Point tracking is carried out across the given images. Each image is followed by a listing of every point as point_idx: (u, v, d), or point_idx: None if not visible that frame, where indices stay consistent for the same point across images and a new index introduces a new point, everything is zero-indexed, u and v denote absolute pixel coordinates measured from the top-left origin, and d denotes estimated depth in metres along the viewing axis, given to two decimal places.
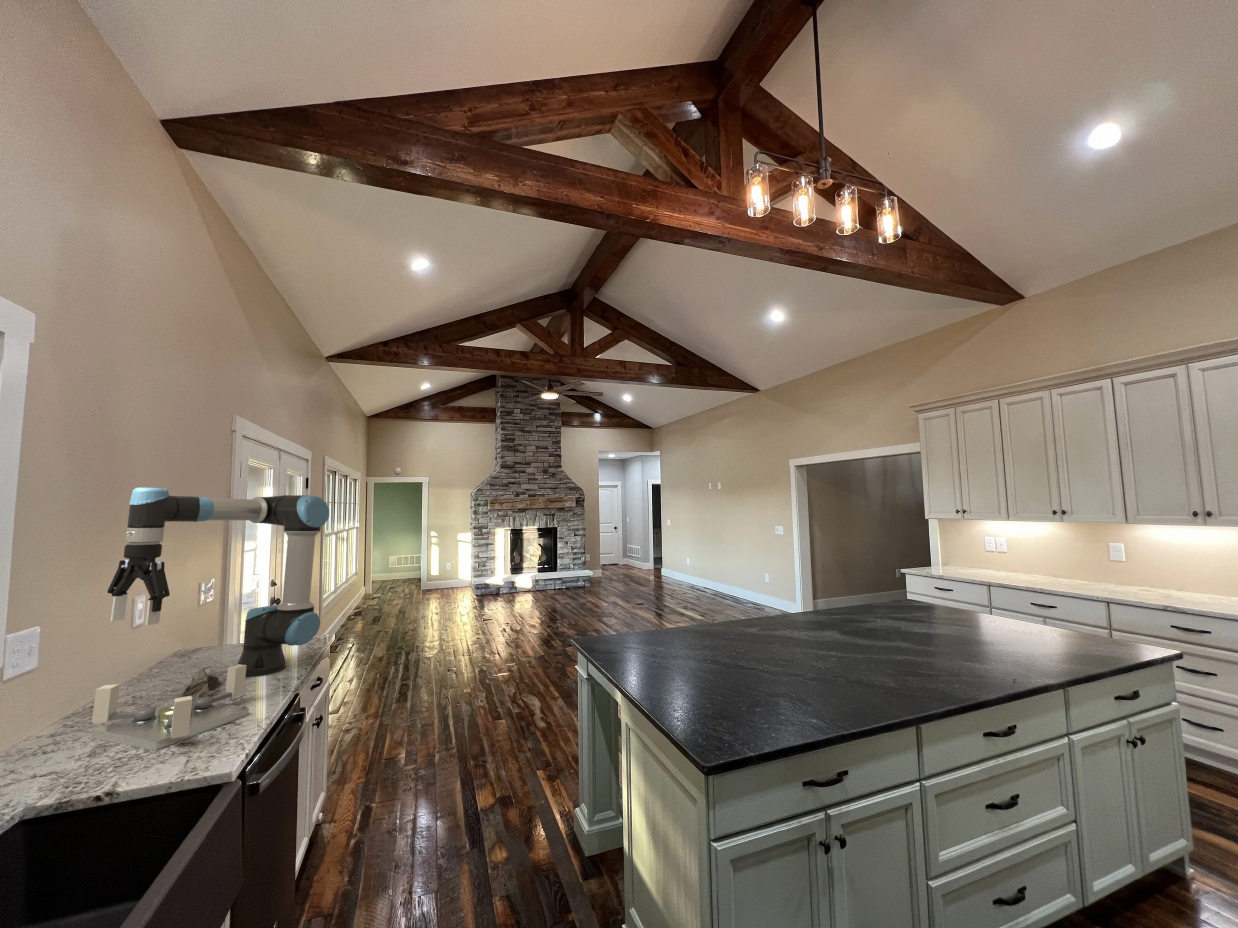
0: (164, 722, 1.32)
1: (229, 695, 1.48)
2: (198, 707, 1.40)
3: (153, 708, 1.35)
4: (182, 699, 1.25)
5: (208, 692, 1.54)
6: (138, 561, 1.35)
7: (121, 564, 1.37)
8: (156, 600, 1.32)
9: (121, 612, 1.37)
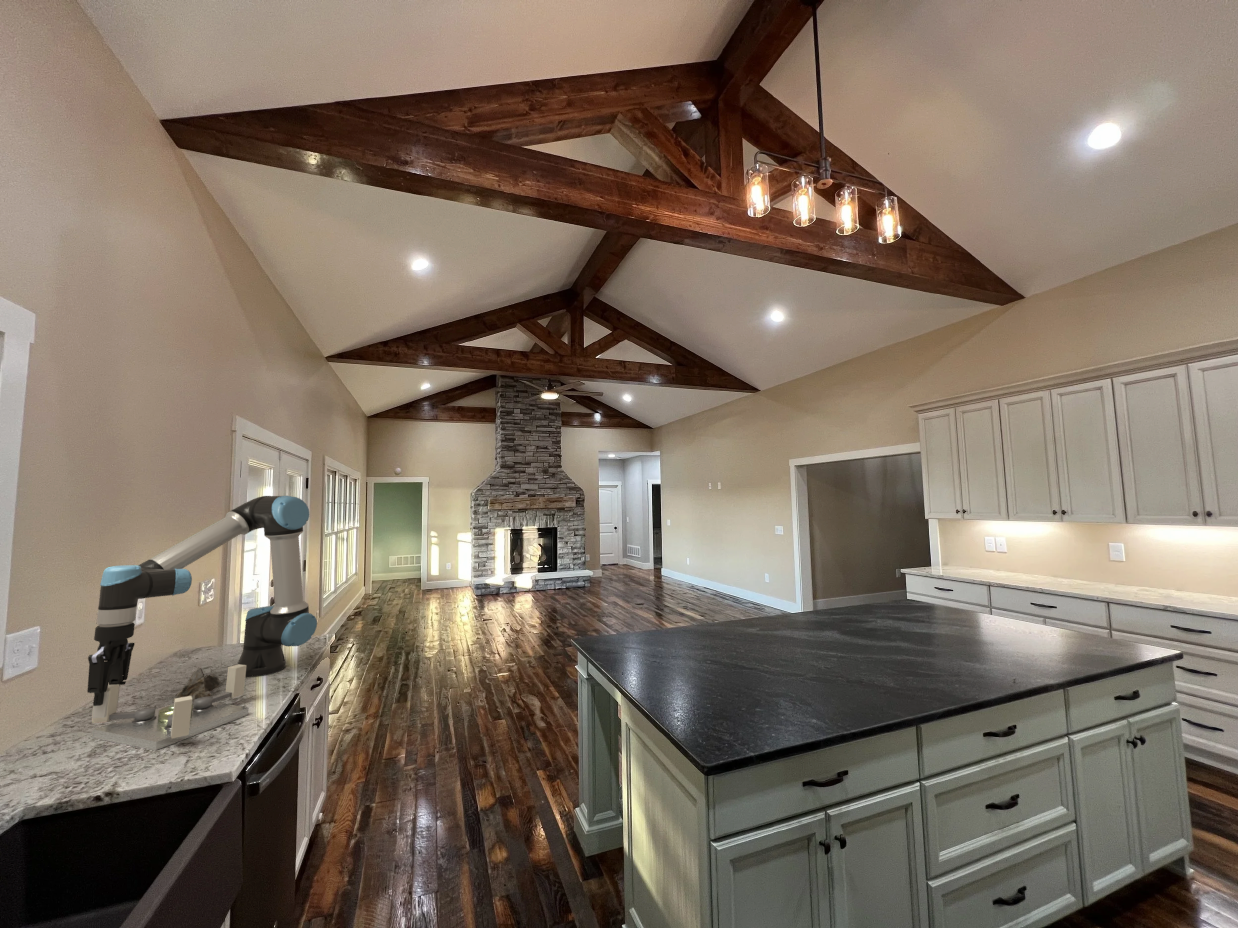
0: (164, 722, 1.32)
1: (229, 695, 1.48)
2: (198, 707, 1.40)
3: (153, 708, 1.35)
4: (182, 699, 1.25)
5: (204, 693, 1.54)
6: None
7: None
8: (95, 694, 1.29)
9: None
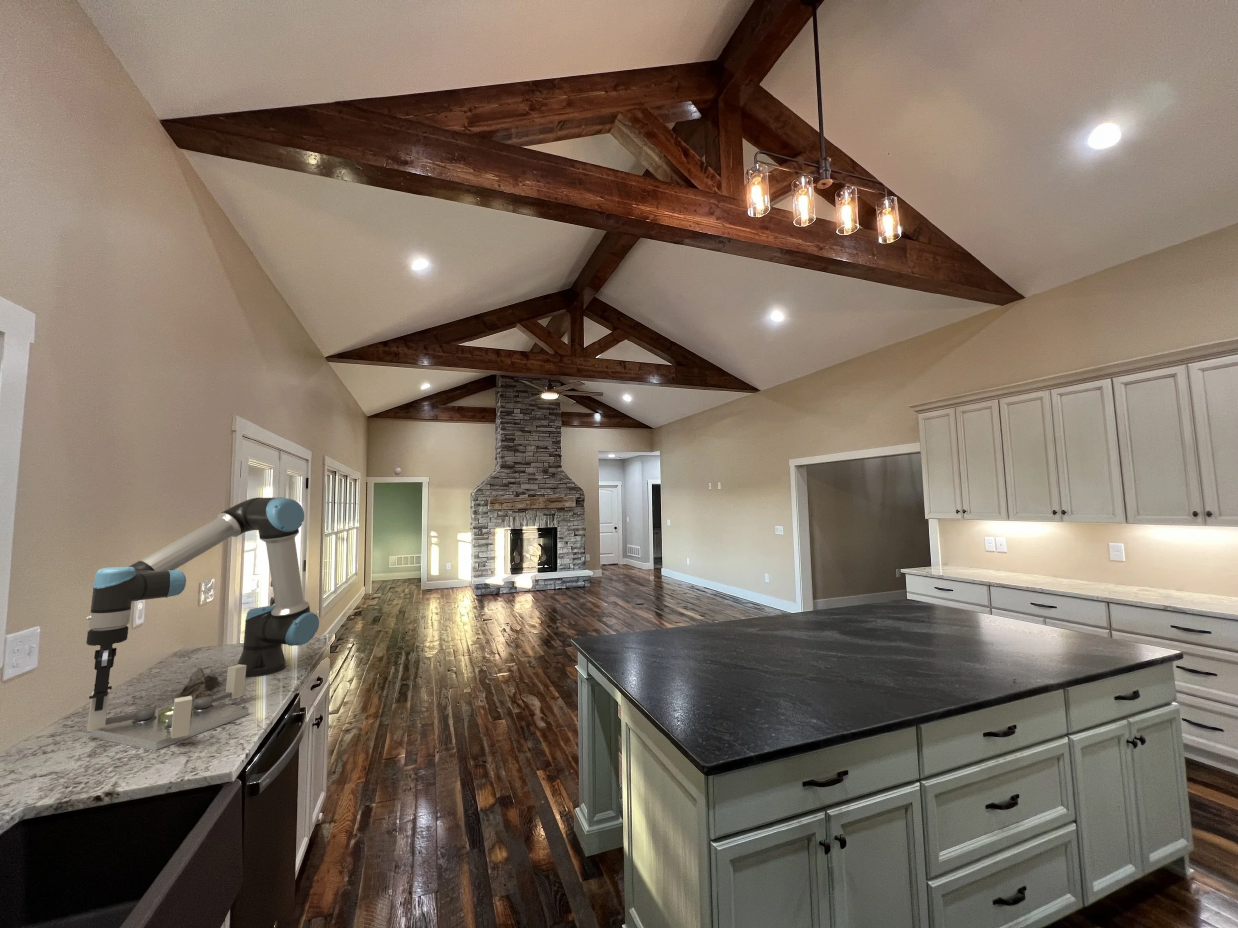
0: (164, 722, 1.32)
1: (229, 695, 1.48)
2: (198, 707, 1.40)
3: (152, 707, 1.35)
4: (182, 699, 1.25)
5: (205, 692, 1.54)
6: None
7: None
8: (96, 699, 1.25)
9: None
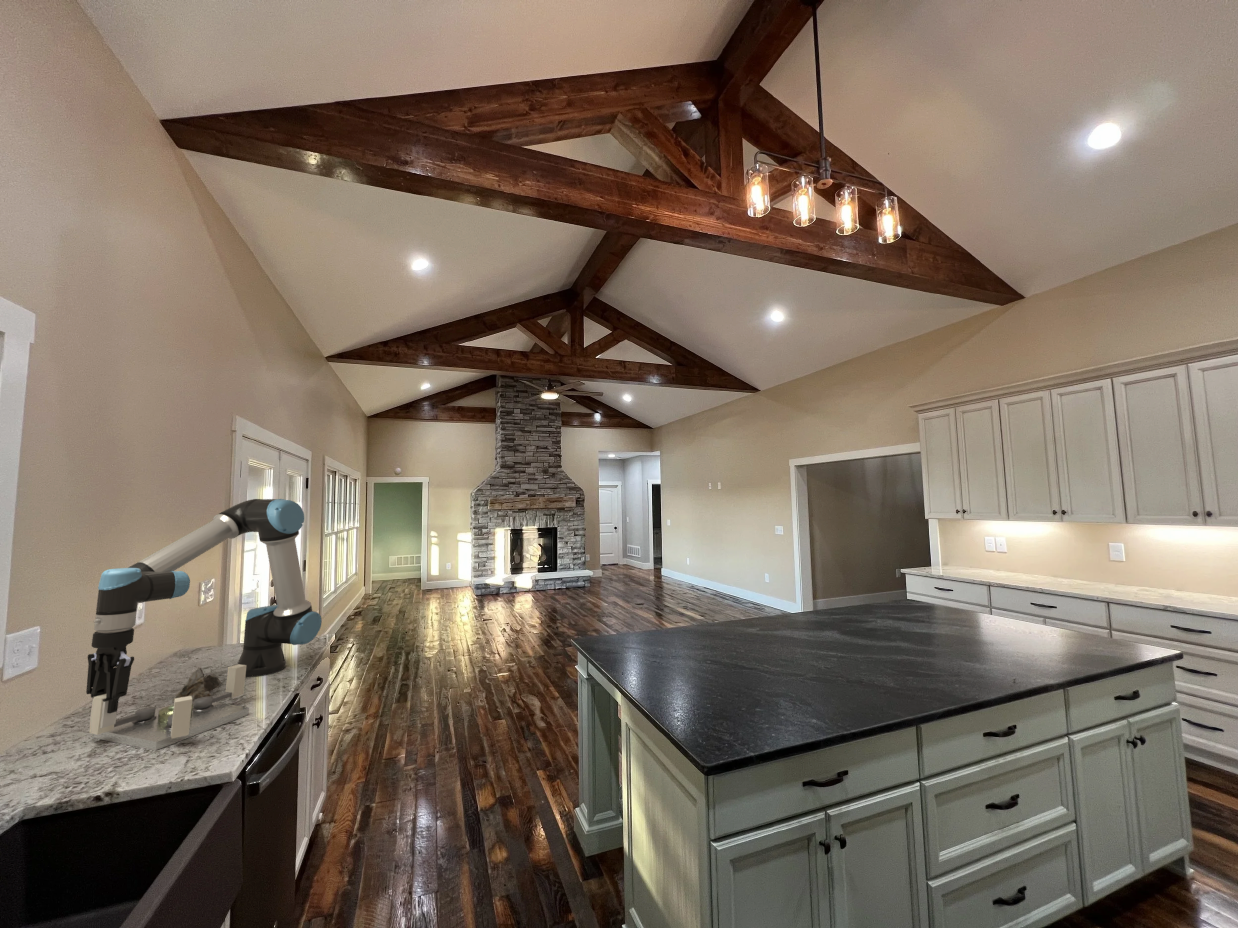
0: (164, 722, 1.32)
1: (229, 695, 1.48)
2: (198, 707, 1.40)
3: (149, 707, 1.35)
4: (182, 699, 1.25)
5: (204, 693, 1.54)
6: (107, 650, 1.26)
7: (90, 658, 1.27)
8: (112, 700, 1.24)
9: None
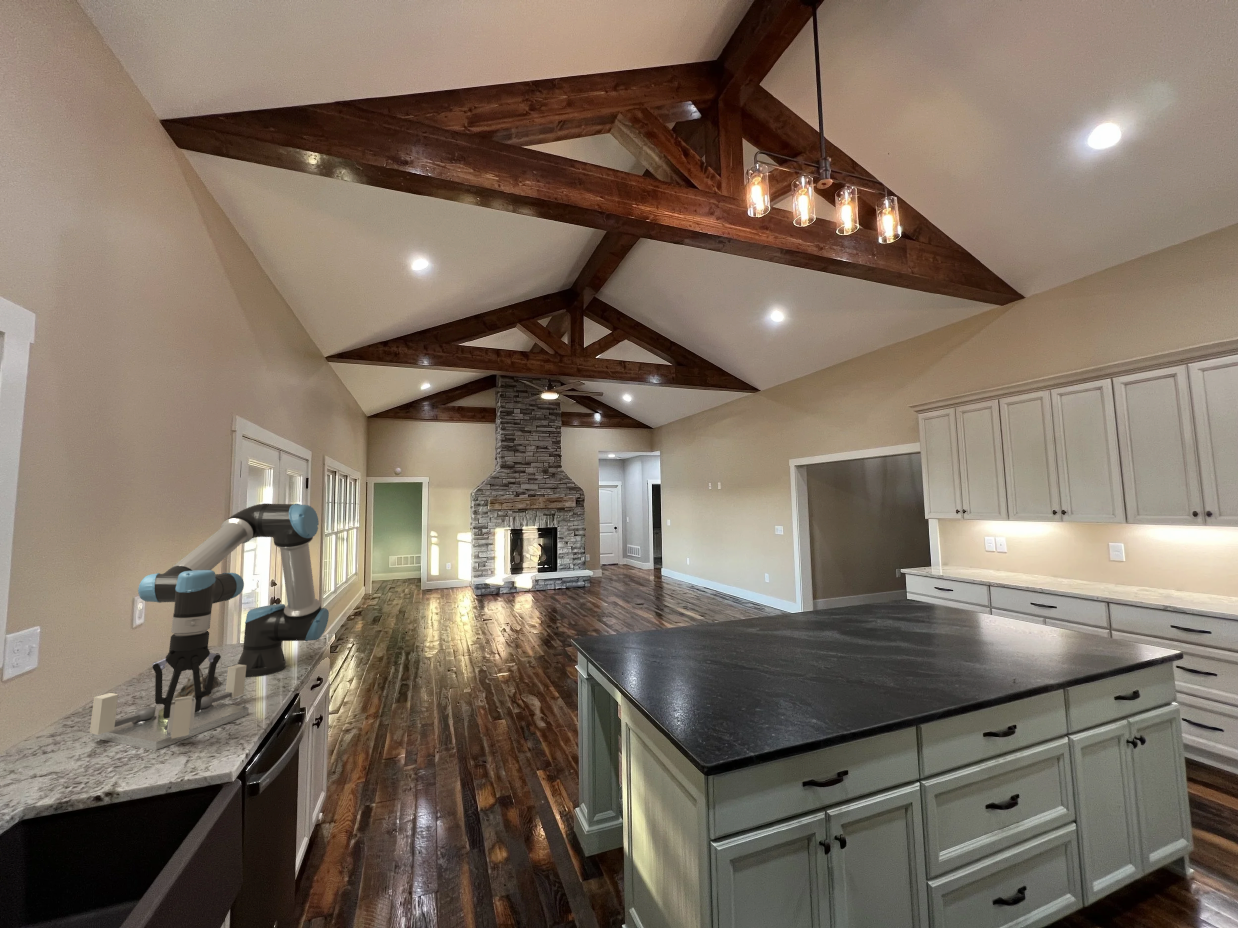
0: (164, 722, 1.32)
1: (229, 695, 1.48)
2: None
3: (149, 707, 1.35)
4: (182, 699, 1.25)
5: None
6: (191, 652, 1.26)
7: (158, 667, 1.21)
8: None
9: None
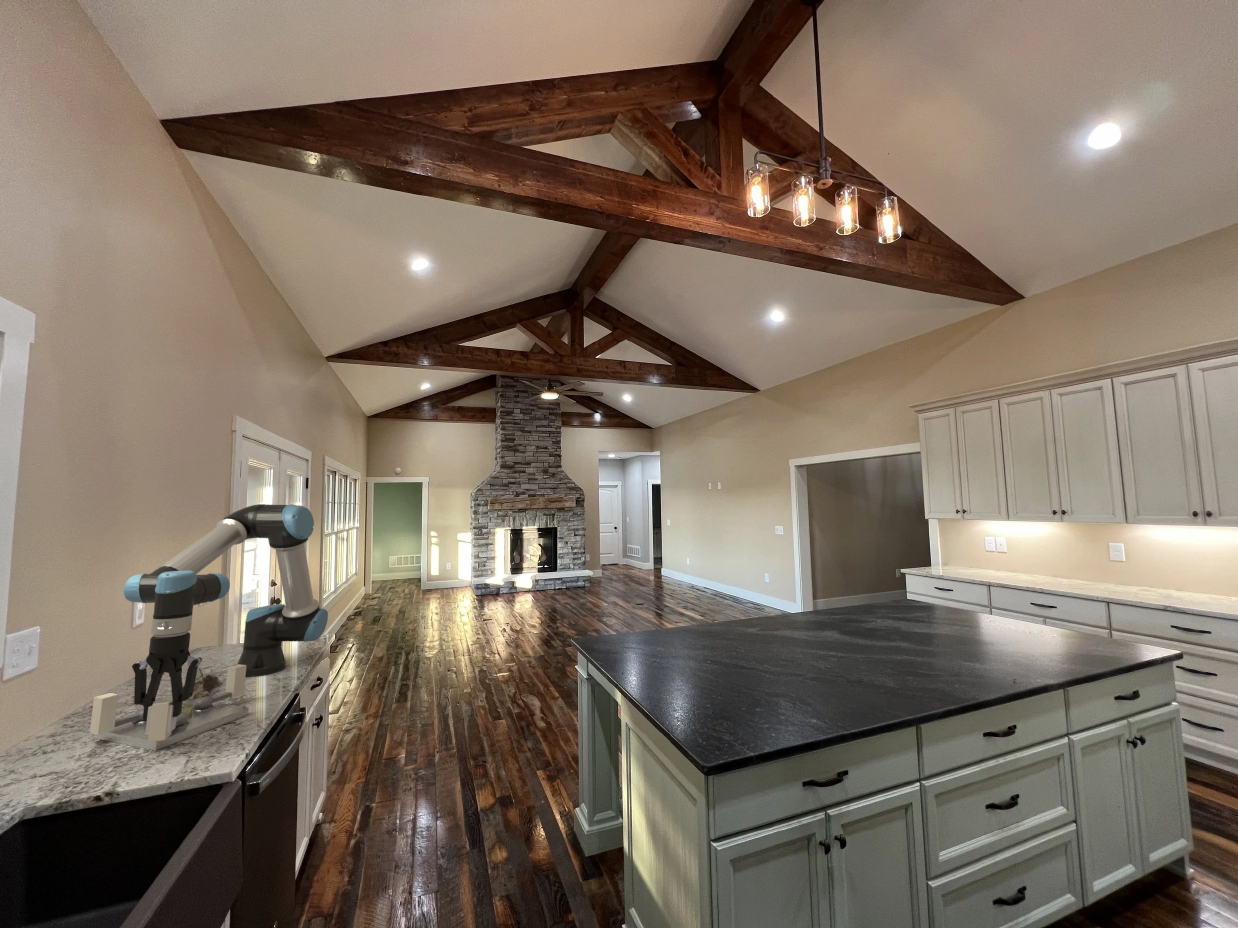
0: None
1: (229, 695, 1.48)
2: (198, 707, 1.40)
3: None
4: (162, 701, 1.23)
5: (202, 693, 1.54)
6: (169, 654, 1.23)
7: (137, 667, 1.21)
8: (179, 703, 1.23)
9: None
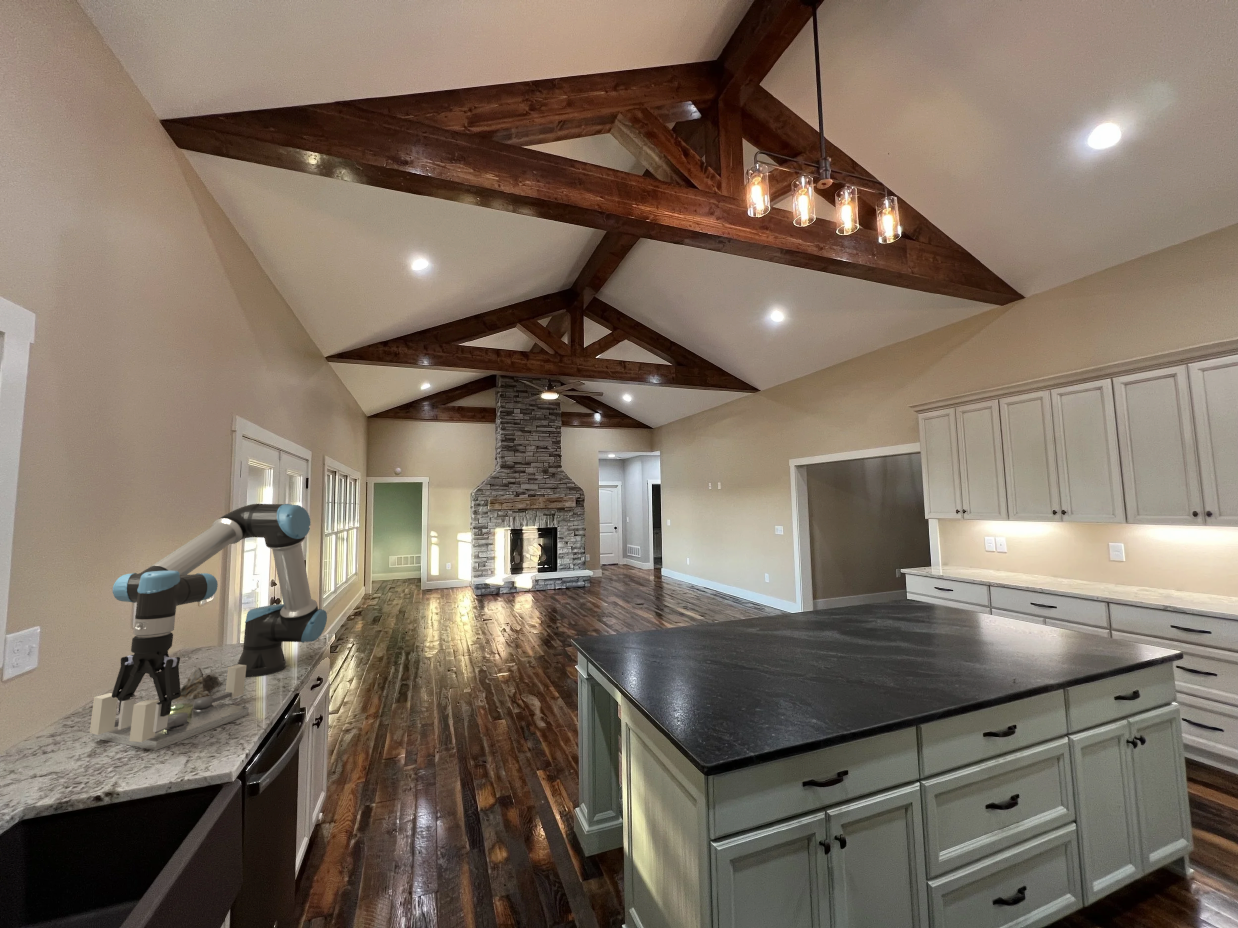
0: None
1: (229, 695, 1.48)
2: (198, 707, 1.40)
3: None
4: (144, 702, 1.22)
5: (203, 692, 1.54)
6: (148, 655, 1.22)
7: (124, 661, 1.23)
8: (166, 703, 1.21)
9: (129, 717, 1.23)
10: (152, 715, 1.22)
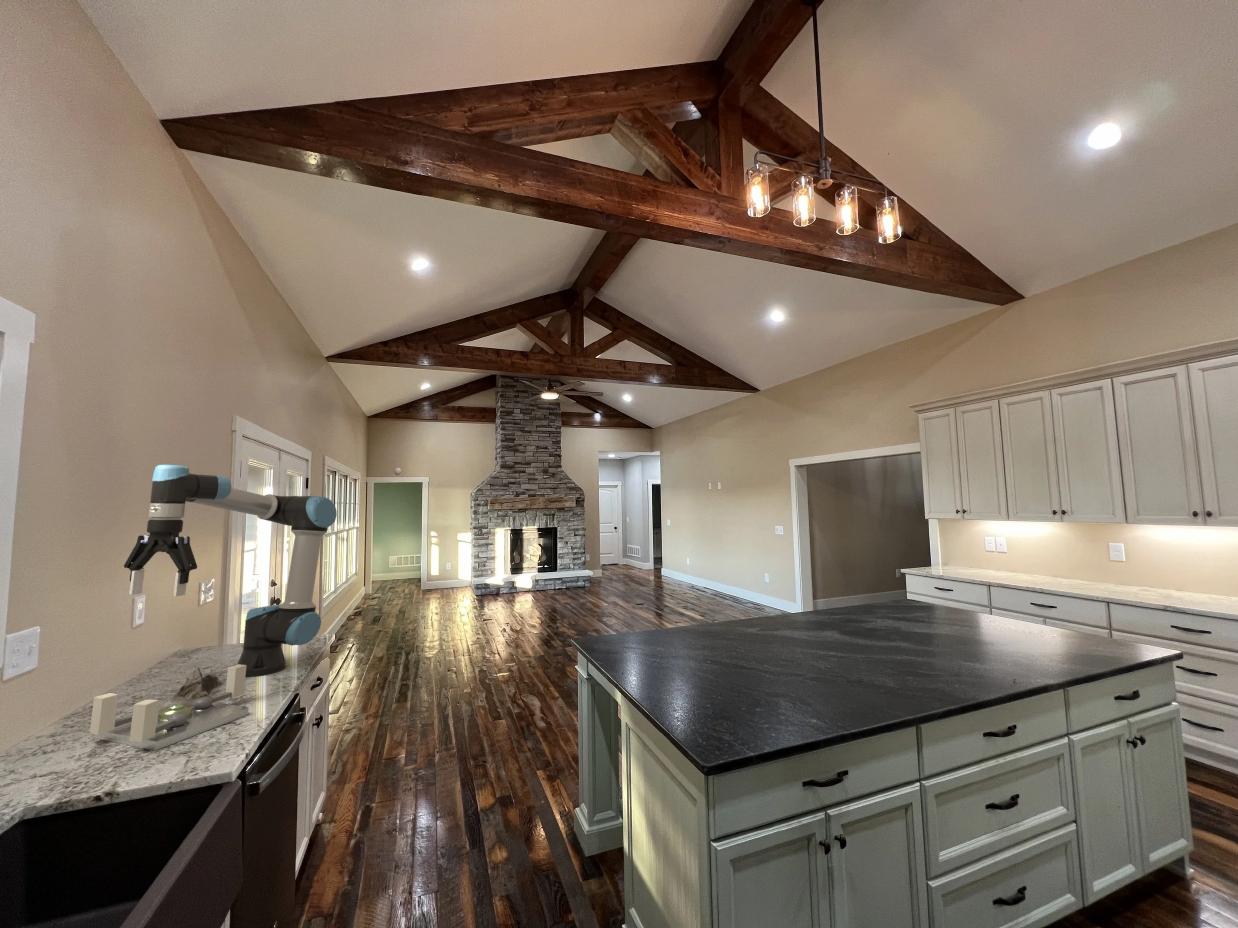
0: None
1: (229, 695, 1.48)
2: (198, 707, 1.40)
3: None
4: (144, 702, 1.22)
5: (201, 693, 1.53)
6: (161, 536, 1.40)
7: (140, 539, 1.40)
8: (184, 572, 1.38)
9: (139, 586, 1.40)
10: (152, 715, 1.22)
